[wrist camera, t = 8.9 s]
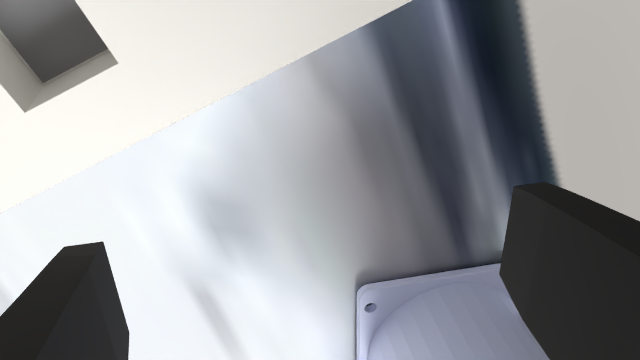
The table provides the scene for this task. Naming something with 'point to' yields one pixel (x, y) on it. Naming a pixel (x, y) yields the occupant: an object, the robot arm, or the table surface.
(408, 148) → the table surface
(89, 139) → the power strip
